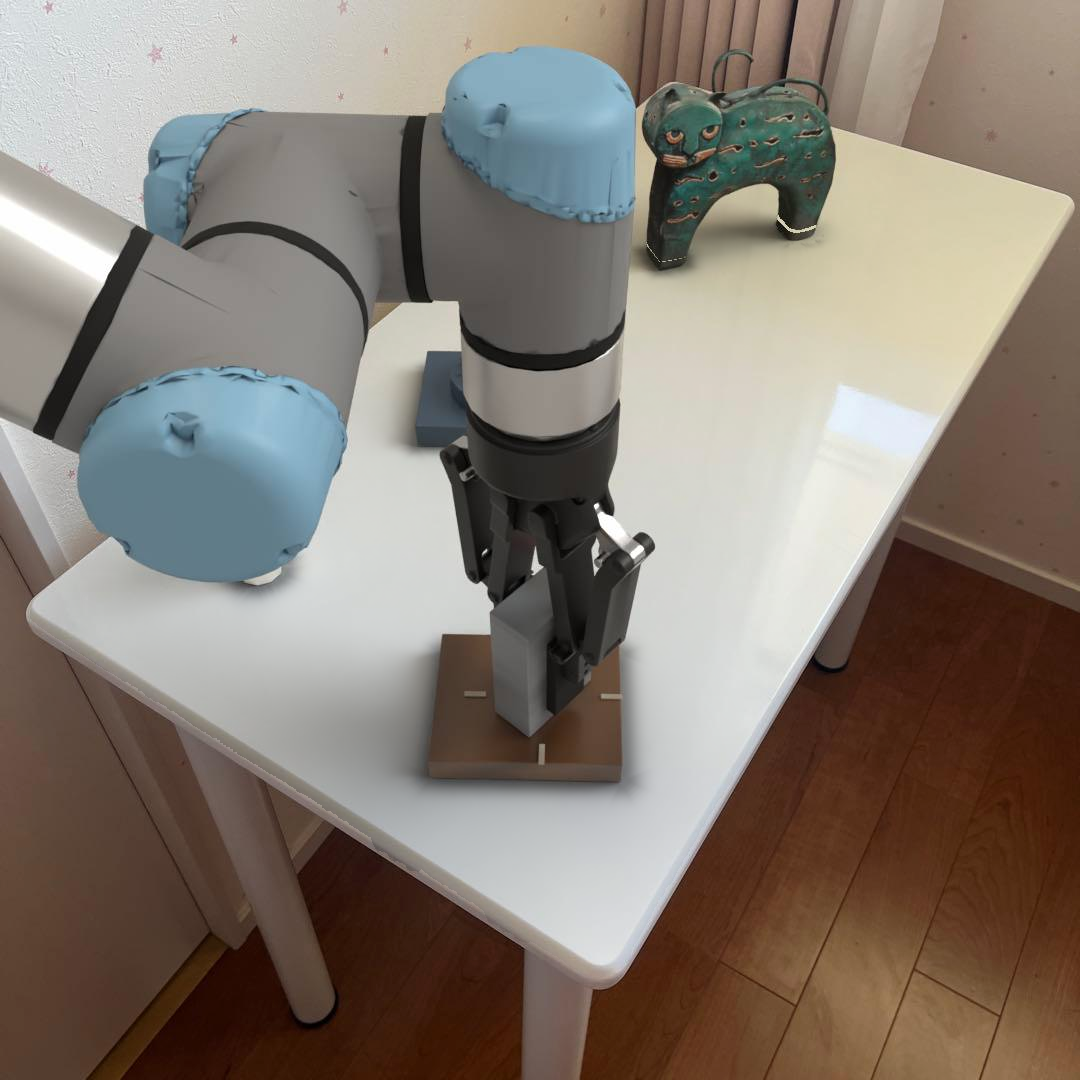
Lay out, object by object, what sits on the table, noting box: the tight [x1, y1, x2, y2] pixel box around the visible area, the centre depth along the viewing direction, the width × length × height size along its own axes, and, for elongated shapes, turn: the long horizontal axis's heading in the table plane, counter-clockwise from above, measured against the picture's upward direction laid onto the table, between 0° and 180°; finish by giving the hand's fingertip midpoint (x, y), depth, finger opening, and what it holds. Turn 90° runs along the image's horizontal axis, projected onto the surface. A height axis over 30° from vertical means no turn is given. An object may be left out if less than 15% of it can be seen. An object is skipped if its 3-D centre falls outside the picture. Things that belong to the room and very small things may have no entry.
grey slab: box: [489, 566, 591, 737], centre depth 67 cm, size 6×3×10 cm, turn 138°
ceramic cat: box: [641, 48, 837, 271], centre depth 104 cm, size 20×6×20 cm, turn 109°
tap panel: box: [427, 633, 624, 783], centre depth 72 cm, size 12×10×2 cm
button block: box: [415, 350, 467, 447], centre depth 92 cm, size 12×10×4 cm
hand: (543, 682), depth 70 cm, fingers closed on grey slab, 3 cm apart
